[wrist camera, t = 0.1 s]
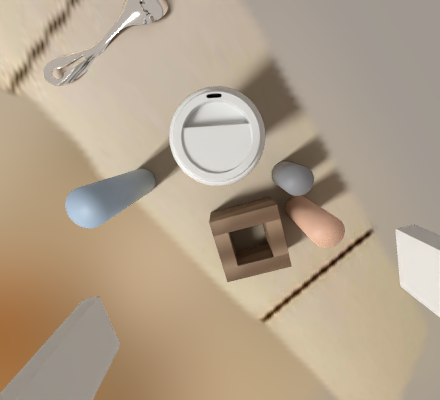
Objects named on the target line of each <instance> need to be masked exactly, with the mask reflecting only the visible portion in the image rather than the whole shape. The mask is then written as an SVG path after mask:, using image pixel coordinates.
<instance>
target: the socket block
mask: <svg viewBox="0 0 440 400" xmlns="http://www.w3.org/2000/svg"><path fill="white" fill-rule="evenodd" d="M209 223H210V227H211V230H212V233H213V236H214V239H215V243H216V246H217V249H218V252H219V256H220V259H221V262H222V265H223V269H224V272H225V275H226V278H227V282H230V281H234V280H238V279H242V278H246V277H250V276H254V275H258V274H262V273H266V272H271V271H275V270H279V269H283V268H287V267H291V262H290V258H289V253H288V249H287V245H286V240H285V236H284V232H283V228H282V223H281V219H280V215H279V210H278V206H277V204H276V203H275V202H274V201H273V200H272V198H271V197H267V198H264V199H260V200H256V201H253V202H249V203H245V204H242V205H238V206H234V207H230V208H227V209H223V210H219V211H216V212H212V213H211V215H210V222H209ZM259 224H263V227H264V231H265V235H266V239H267V243H266V244H263V245H259V246H255V247H251V248H247V249H243V250H239V251H236V250H235V247H234V243H233V240H232V236H231V233H230V232H233V231H236V230H240V229H244V228H248V227H252V226H255V225H259Z"/></svg>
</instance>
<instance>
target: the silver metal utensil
mask: <svg viewBox="0 0 440 400" xmlns="http://www.w3.org/2000/svg"><path fill="white" fill-rule="evenodd" d="M167 10H168V4H167V2H166V0H125V1H124V4H123V8H122V11H121V14H120V16H119V18H118V20H117V21H116V23H115V25H114V26H113V27H112V29H111V30H110V31H109V32H108V33H107V34H106V35H105V36H104V37H103V38H102V39H101V40H99V41H98V42H97V43H96V44H94V45H93V46H92V47H90V48H88V49H85V50H82V51H78V52H74V53H71V54H68V55H65V56H62V57H59V58H57V59H54V60H52V61H51V62H49V63H48V64H47V65H46V66H45V68H44V77H45V79H46V81H48V82H49V83H51V84H53V85H55V86H63V85H66V84H69V83H71V82H73V81H74V80H76V79H77V78H79V77H80V76H81V75H83V74H84V73H85V72H86V71H87V70H88V69H89V67H90V65H91V64H92V62H93V61H94V59H95V58H96V57H97V56H98V55H99V54H101V53H102V52H103V51H104V50H105V48H106V47H107V45H108V44H109V42H110V41H111V40H112V38H113V37H114V36H115V35H116V34H117V33H118V32H119V31H120V30H122V29H123V28H125V27H127V26H131V25H143V24H149V23H152V22H155V21H157V20H158V19H160V18H161V17H162V16H164V15H165V13H166V12H167ZM81 56H84V57H85V59H86V60H84V61H83V62H81V63H79V64H78V65H76V66H74V67H73V68H71V69H69V70H68V71H66V72H64V76H63V78H61V79H56V78H54V77H53V74H52V72H53V70H54V69H56V68H59V69H61V68H63V67H65V66H66V65H68V64H70V63H71V62H73V61H75V60H76V59H78V58H80V57H81Z"/></svg>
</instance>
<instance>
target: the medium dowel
mask: <svg viewBox="0 0 440 400" xmlns="http://www.w3.org/2000/svg"><path fill="white" fill-rule="evenodd" d="M286 212H287V214H288V215H289V217H290V218H291V219H292V220H293V221H294V222H295V223H296V224H297V225H298V226H299V227H300V228H301V229H302V231H303V232H304V233H305V234H306V235H307V236H308V237H309V238H310V239H311V240H312V241H313V242H314V243H315V244H316V245H317V246H319V247H322V248H330V247H333V246H335V245H337V244H338V243H339V242H340V241H341V240H342V238H343V236H344V233H345V228H344V225H343V223H342V221H341V220H339V219H338V218H336V217H335V216H333V215H332V214H330V213H329V212H327V211H326V210H324V209H322V208H321V207H319V206H318V205H316V204H315V203H313V202H312V201H310V200H308V199H307V198H305V197H303V196H294V197H292V198H291V199H290V200H289V201H288V202H287V204H286Z"/></svg>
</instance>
